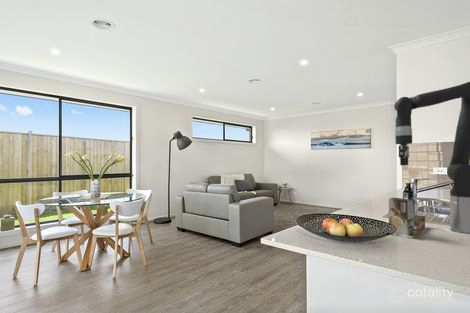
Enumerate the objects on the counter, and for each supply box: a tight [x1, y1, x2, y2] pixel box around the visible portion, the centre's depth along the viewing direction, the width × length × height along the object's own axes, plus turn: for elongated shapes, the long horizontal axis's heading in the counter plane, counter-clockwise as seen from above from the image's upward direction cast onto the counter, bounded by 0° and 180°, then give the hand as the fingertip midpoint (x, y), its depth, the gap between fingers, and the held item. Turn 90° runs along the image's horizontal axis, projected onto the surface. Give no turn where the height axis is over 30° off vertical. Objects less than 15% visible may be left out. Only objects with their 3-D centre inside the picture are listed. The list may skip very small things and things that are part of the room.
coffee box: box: [388, 197, 416, 235], centre depth 122 cm, size 9×6×16 cm
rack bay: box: [392, 214, 426, 240], centre depth 127 cm, size 13×27×6 cm, turn 136°
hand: (404, 165), depth 136 cm, fingers open, 8 cm apart
